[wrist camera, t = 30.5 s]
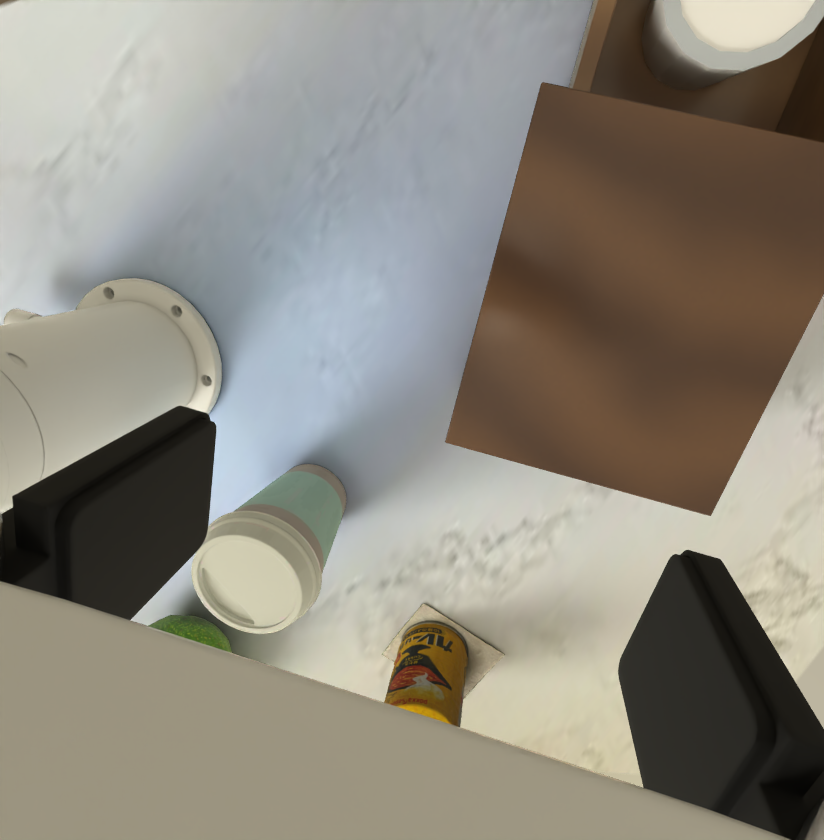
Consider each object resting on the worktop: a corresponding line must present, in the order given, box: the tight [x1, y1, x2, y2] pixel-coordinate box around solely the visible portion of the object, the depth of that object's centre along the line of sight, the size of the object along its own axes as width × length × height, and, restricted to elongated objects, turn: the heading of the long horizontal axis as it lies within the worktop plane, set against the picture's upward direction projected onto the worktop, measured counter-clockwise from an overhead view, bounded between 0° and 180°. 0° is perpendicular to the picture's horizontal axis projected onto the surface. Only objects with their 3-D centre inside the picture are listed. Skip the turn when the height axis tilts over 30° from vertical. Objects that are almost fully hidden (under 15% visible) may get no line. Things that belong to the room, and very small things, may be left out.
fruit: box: [149, 615, 232, 653], centre depth 49 cm, size 15×10×10 cm, turn 147°
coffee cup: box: [191, 464, 346, 634], centre depth 39 cm, size 8×8×12 cm
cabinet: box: [445, 82, 824, 516], centre depth 31 cm, size 18×15×10 cm
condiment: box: [382, 604, 505, 727], centre depth 42 cm, size 7×8×12 cm
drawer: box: [569, 0, 824, 142], centre depth 25 cm, size 22×14×8 cm, turn 167°
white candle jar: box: [641, 0, 824, 90], centre depth 25 cm, size 7×7×7 cm
